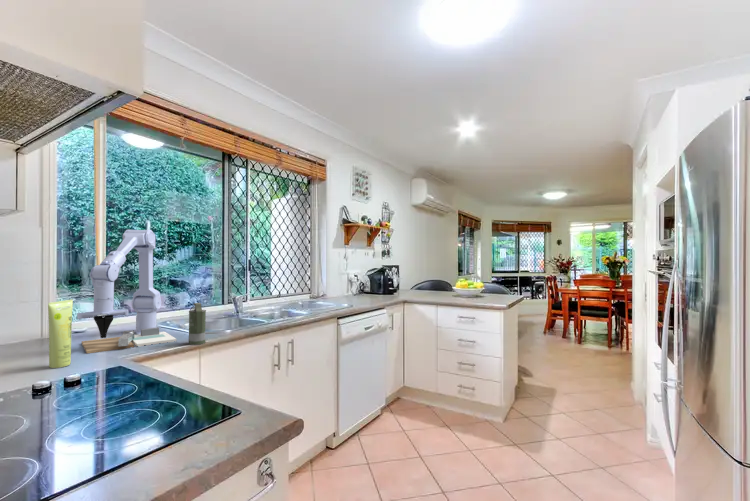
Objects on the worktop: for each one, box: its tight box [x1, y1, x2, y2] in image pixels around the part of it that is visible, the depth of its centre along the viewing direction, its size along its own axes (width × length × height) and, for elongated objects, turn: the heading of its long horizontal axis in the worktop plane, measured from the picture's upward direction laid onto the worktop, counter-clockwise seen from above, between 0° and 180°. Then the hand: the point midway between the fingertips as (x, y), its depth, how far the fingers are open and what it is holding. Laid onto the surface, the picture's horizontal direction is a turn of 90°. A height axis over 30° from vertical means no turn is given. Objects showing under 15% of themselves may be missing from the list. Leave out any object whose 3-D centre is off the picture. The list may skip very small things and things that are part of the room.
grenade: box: [187, 302, 207, 346], centre depth 141 cm, size 6×6×15 cm
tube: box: [47, 298, 74, 369], centre depth 111 cm, size 6×5×20 cm
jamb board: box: [81, 336, 135, 355], centre depth 137 cm, size 18×14×1 cm
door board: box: [131, 326, 178, 347], centre depth 146 cm, size 18×13×3 cm
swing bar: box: [119, 330, 135, 346], centre depth 137 cm, size 14×4×3 cm, turn 26°
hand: (103, 337), depth 132 cm, fingers closed
